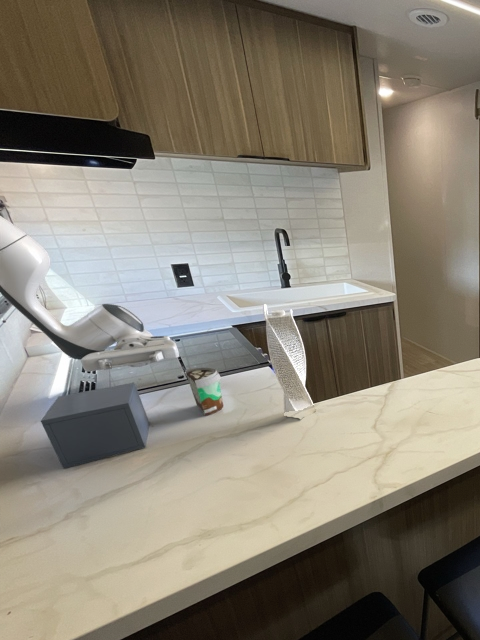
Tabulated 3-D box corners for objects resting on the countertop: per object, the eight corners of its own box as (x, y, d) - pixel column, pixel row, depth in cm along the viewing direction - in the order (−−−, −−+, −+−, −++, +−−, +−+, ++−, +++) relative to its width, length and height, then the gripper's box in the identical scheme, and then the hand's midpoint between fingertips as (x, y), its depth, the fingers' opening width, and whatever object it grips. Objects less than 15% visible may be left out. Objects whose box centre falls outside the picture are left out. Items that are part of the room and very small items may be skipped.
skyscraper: (276, 418, 100) (248, 306, 90) (299, 405, 106) (276, 300, 96) (300, 422, 97) (275, 308, 87) (323, 409, 104) (301, 302, 94)
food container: (234, 409, 105) (224, 374, 101) (206, 417, 101) (195, 381, 97) (221, 397, 113) (211, 363, 109) (195, 404, 109) (184, 369, 105)
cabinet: (77, 439, 92) (58, 396, 88) (149, 422, 99) (134, 382, 95) (63, 468, 80) (40, 420, 77) (145, 447, 88) (128, 402, 84)
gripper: (82, 347, 110) (71, 359, 99) (175, 335, 121) (174, 344, 111) (90, 369, 112) (81, 383, 102) (181, 354, 123) (181, 366, 113)
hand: (130, 363), depth 106 cm, fingers open, 8 cm apart
